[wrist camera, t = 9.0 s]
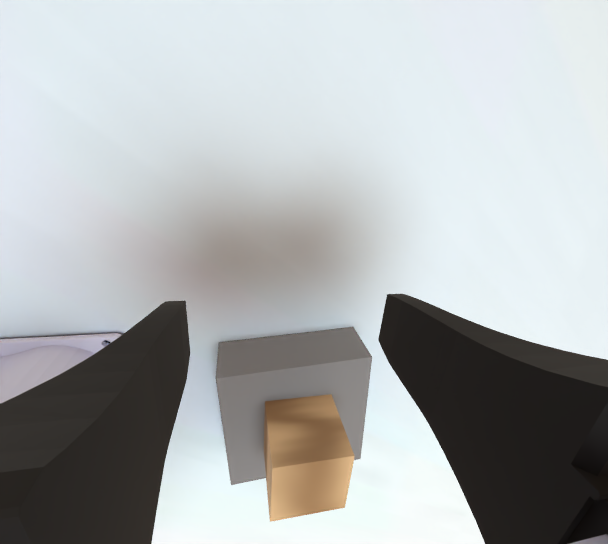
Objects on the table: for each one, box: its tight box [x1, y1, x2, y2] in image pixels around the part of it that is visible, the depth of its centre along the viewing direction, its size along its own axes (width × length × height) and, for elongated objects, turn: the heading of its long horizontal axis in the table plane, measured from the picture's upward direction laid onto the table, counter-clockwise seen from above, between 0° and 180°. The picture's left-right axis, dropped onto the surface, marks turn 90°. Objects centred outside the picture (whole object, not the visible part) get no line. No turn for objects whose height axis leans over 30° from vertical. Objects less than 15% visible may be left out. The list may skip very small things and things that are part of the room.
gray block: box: [216, 327, 372, 485], centre depth 23 cm, size 10×10×4 cm
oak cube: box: [264, 394, 354, 521], centre depth 19 cm, size 4×4×4 cm
